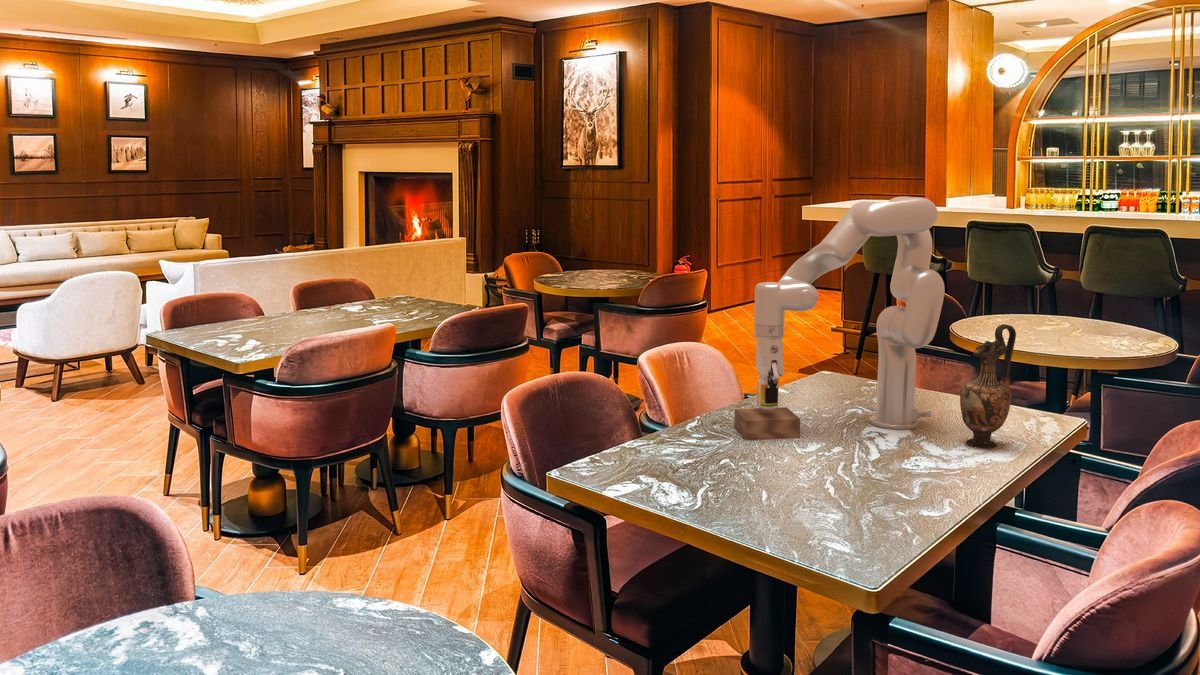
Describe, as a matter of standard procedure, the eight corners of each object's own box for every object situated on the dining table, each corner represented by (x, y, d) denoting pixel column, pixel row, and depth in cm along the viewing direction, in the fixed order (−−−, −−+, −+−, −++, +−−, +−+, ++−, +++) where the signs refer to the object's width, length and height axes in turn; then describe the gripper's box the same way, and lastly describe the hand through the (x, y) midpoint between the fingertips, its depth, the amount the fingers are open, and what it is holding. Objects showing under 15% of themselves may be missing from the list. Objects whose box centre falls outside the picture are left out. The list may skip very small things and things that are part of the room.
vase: (948, 439, 240) (955, 321, 234) (996, 437, 241) (1003, 320, 235) (970, 452, 228) (978, 329, 223) (1020, 450, 229) (1029, 328, 224)
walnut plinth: (786, 425, 253) (786, 407, 252) (799, 437, 242) (800, 418, 241) (734, 427, 252) (734, 409, 251) (745, 439, 240) (746, 420, 239)
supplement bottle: (753, 406, 247) (753, 369, 245) (770, 403, 249) (770, 367, 248) (765, 410, 242) (765, 373, 240) (782, 407, 244) (783, 371, 243)
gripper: (793, 336, 234) (792, 407, 237) (774, 325, 251) (772, 392, 254) (763, 337, 233) (762, 408, 237) (746, 326, 250) (745, 393, 253)
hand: (767, 399), depth 245 cm, fingers closed on supplement bottle, 5 cm apart
